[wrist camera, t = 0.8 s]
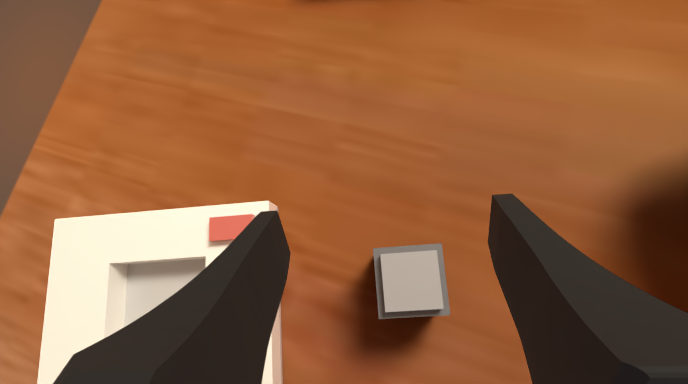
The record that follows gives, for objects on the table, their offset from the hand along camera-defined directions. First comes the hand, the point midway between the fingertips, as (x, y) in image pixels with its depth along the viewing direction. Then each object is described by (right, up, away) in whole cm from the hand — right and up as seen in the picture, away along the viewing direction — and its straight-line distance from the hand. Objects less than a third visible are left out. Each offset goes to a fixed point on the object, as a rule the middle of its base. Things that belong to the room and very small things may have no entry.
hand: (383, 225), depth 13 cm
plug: (+3, -5, +14) cm, 15 cm away
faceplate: (-14, -7, +15) cm, 22 cm away
